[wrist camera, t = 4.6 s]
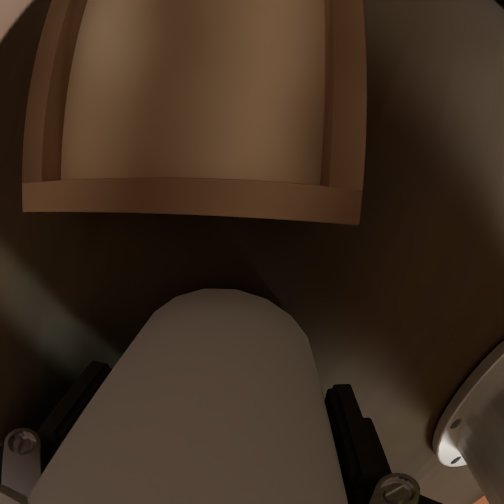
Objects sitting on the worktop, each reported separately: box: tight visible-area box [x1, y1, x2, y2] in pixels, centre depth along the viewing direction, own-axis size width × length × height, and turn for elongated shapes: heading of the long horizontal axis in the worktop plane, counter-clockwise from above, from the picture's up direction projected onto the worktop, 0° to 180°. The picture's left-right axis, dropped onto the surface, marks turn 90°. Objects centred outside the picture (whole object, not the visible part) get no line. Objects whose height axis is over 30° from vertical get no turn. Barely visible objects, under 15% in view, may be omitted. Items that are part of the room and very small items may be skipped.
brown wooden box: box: [22, 0, 367, 225], centre depth 9 cm, size 11×11×3 cm
